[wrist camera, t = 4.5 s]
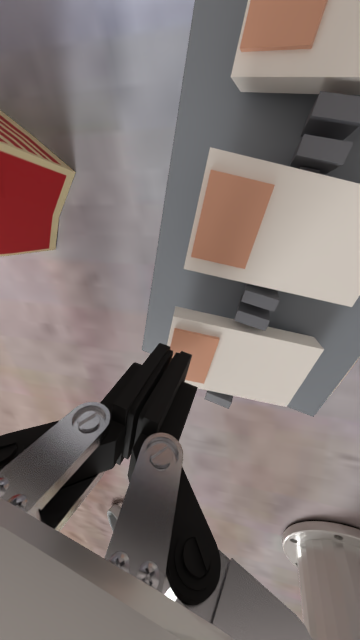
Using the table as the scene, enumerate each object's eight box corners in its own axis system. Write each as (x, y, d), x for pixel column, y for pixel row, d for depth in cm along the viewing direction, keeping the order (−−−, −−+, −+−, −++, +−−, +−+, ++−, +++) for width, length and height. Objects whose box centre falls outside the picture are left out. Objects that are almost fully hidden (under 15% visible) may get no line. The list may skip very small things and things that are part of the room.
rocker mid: (397, 199, 9) (427, 199, 8) (338, 297, 11) (354, 309, 10) (209, 152, 9) (210, 146, 8) (185, 262, 11) (183, 270, 10)
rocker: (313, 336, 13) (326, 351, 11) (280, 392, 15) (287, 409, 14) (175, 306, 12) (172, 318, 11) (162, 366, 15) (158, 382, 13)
